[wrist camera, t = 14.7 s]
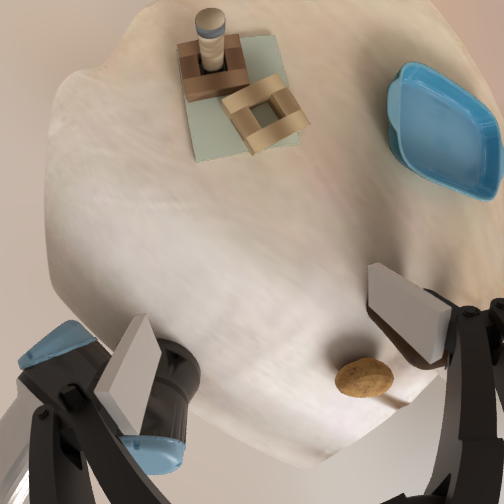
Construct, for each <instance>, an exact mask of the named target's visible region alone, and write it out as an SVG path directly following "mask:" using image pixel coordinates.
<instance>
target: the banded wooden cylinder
mask: <svg viewBox="0 0 504 504" xmlns="http://www.w3.org/2000/svg"><path fill="white" fill-rule="evenodd" d="M195 24H196V30H197V34H198V40H199V46H200V53H201V59H202V65H203V72H204V75H207V74H213V73H218V72H223V60H224V31H225V14H224V13H223V12H222V11H221V10H219V9H216V8H207V9H204V10H202V11H200V12H199V13H198V14H197V15H196V18H195Z"/></svg>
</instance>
